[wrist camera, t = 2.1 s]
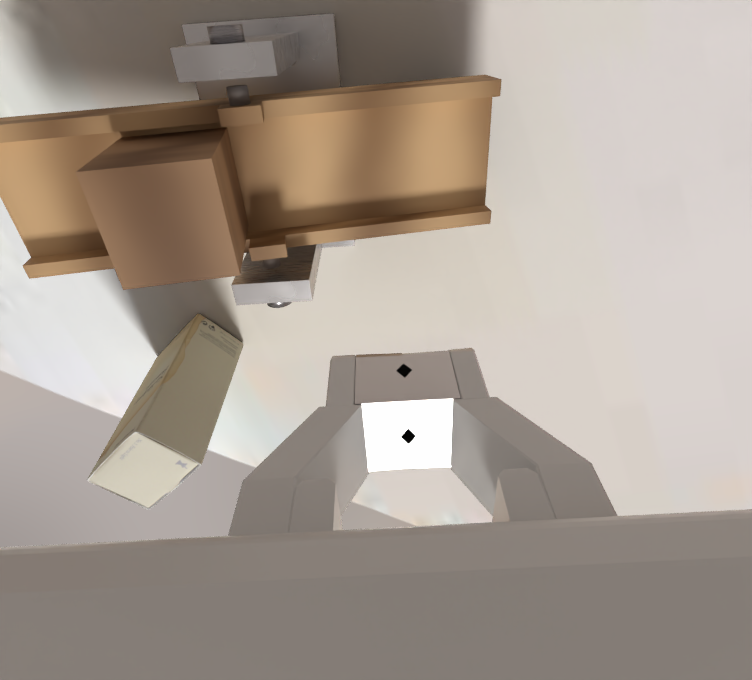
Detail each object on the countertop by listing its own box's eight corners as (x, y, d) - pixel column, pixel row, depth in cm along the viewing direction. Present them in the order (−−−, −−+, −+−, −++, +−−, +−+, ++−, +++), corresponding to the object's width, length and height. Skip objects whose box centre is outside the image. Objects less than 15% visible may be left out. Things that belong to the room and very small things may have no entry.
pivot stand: (334, 13, 26) (321, 15, 18) (354, 241, 33) (351, 309, 26) (186, 23, 26) (112, 30, 18) (239, 248, 33) (202, 318, 26)
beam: (468, 55, 26) (512, 64, 21) (462, 206, 31) (497, 243, 26) (-1, 94, 24) (-77, 115, 19) (70, 252, 29) (25, 302, 24)
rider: (227, 127, 23) (211, 158, 18) (248, 224, 25) (239, 275, 20) (121, 137, 22) (75, 172, 17) (154, 235, 25) (123, 289, 20)
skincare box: (199, 310, 36) (135, 426, 26) (247, 344, 38) (205, 464, 28) (154, 358, 39) (81, 481, 29) (202, 388, 40) (148, 513, 30)
